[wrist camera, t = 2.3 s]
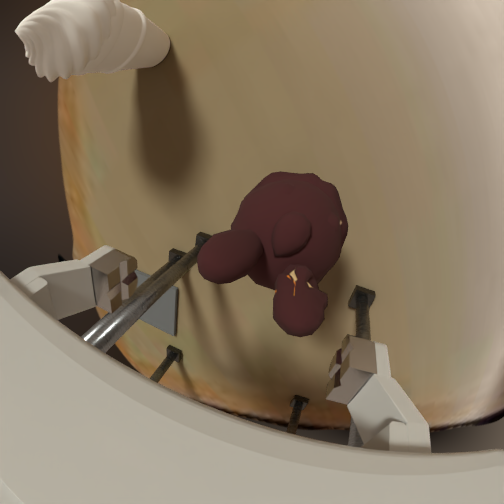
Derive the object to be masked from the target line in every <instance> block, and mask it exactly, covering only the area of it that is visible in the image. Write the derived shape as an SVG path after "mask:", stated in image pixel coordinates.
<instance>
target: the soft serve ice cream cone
mask: <svg viewBox="0 0 504 504" xmlns="http://www.w3.org/2000/svg"><path fill="white" fill-rule="evenodd" d="M15 32H16V33H17V35H18V36H19V38H20V39H21V40H22V41H23V43H24V45H25V50H26V57H29V64H30V65H33V66H34V65H35V69H36V73H37V75H38V77H43V76H46V77H47V79H48V80H49V81H50V82H52V81H54V80H55V79H56V78H57V77H58V76H61V77H62V78H64V79H68V78H69V77H70V76H71V75H84V74H86V73H96V72H102V73H106V74H109V73H114V72H117V71H120V70H128V69H137V68H148V67H153V66H155V65H157V64H159V63H160V62H161V61H162V60H163V59H164V58H165V57H166V55H167V53H168V51H169V48H170V39H169V36H168V35H167V34H166V33H165V32H164V31H163V30H161V29H160V28H159V27H158V26H157V25H155V24H154V23H153V22H152V21H150V20H149V19H148V18H146V17H145V15H144V14H143V12H142V11H140V10H139V9H136V8H131V7H129V6H128V5H126V4H124V3H121V2H120V1H119V0H51V1H50V2H49V3H47V4H46V5H44V6H43V7H41V8H39V9H38V10H36V11H34V12H33V13H32V14H31V15H29V16H28V17H26V18H25V19H24V20H23V21H22V22H21V23H20V24H19V26H18V27H17V29H16V30H15Z"/></svg>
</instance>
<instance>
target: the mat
mask: <svg viewBox="0 0 504 504" xmlns="http://www.w3.org/2000/svg"><path fill="white" fill-rule="evenodd" d="M135 273H136V275H137V277H138V283H137V287H139V286H140V285H141V284H142V283H143V282H144V281H146V280H147V279H148V278H149V277H150V275H147V274H145V273H143V272H141V271H139V270H135ZM177 296H178V288H177V287H175V286H172V287H171V288H170V289H169V290H168V291H167V292H165V293H164V294H163V295H162V296H161V297H160V298H159V299H158V300H157V301H156V302H155V303H154V304H153V305H152V306H151V307H150V308H149V309H148V310H147V311H146V312H145V313H144V314H143V315H142V316H141V317H140V318H139V319H141V320H142V321H144V322H146V323H148V324H150V325H152V326H154V327H156V328H158V329H160V330H162V331H164V332H166V333H168V334H170V335H172V336H175V334H176V315H177Z"/></svg>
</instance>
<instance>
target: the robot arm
mask: <svg viewBox="0 0 504 504" xmlns="http://www.w3.org/2000/svg"><path fill="white" fill-rule="evenodd" d="M136 269H137V260H136V259H135V257H132V256H130V255H128V254H126V253H124V252H121V251H119V250H117V249H115V248H112V247H110V246H107V245H104V246H103V247H101V248H99V249H98V250H96V251H94V252H93V253H91V254H89V255H88V256H86V257H85V258H83V259H81V260H80V261H79V260H71V261H65V262H58V263H52V264H46V265H40V266H34V267H29V268H27V269H26V270H24V271H23V272H21V273H20V274H18V275H16V276H15V277H13V278H12V279H11V280H9V279H8V278H7V277H6V276H5V275H4V274H3V273H2V272H1V271H0V504H504V450H502V449H492V450H483V451H474V452H460V453H431V446H430V435H429V426H428V423H427V422H426V421H425V419H424V418H423V416H422V415H421V414H420V412H419V411H418V410H417V408H416V407H415V405H414V404H413V403H412V401H411V400H410V399H409V397H408V396H407V395H406V393H405V392H404V391H403V389H402V388H401V386H400V385H399V384H398V382H397V381H396V380H395V379H394V378H391V372H390V364H389V357H388V350H387V346H386V344H383V343H379V342H375V341H370V340H366V339H362V338H359V337H355V336H352V335H349V334H347V335H346V337H345V338H344V340H343V341H342V348H341V349H339V350H337V351H336V353H335V355H334V357H333V359H332V361H331V364H330V368H329V377H330V378H331V380H330V381H329V383H328V384H327V392H326V399H328V400H331V401H335V402H339V403H343V404H346V405H347V407H348V409H349V411H350V414H351V416H352V418H353V420H354V423H355V425H356V427H357V430H358V432H359V434H360V436H361V439H362V441H363V443H364V445H363V446H362V447H360V448H359V447H352V446H346V445H340V444H334V443H330V442H325V441H320V440H315V439H310V438H306V437H302V436H298V435H294V434H290V433H287V432H283V431H279V430H276V429H272V428H269V427H265V426H263V425H259V424H256V423H253V422H250V421H247V420H244V419H241V418H238V417H235V416H232V415H230V414H227V413H225V412H222V411H219V410H217V409H214V408H212V407H209V406H207V405H204V404H202V403H200V402H197V401H195V400H193V399H190V398H188V397H186V396H184V395H182V394H179V393H177V392H175V391H173V390H171V389H169V388H167V387H165V386H163V385H161V384H159V383H157V382H155V381H153V380H151V379H149V378H147V377H145V376H143V375H142V374H140V373H138V372H136V371H134V370H132V369H131V368H129V367H127V366H125V365H124V364H122V363H120V362H119V361H117V360H115V359H114V358H112V357H110V356H109V355H107V354H105V353H104V352H102V351H101V350H99V349H98V348H96V347H95V346H93V345H91V344H90V343H88V342H87V341H85V340H84V339H83V338H81V337H80V336H78V335H77V334H75V333H74V332H72V331H71V330H70V329H68V328H67V327H66V326H64V325H63V324H61V323H60V322H59V321H58V319H61V318H64V317H67V316H70V315H73V314H75V313H78V312H81V311H84V310H87V309H90V308H93V307H96V305H97V306H98V307H100V308H102V309H104V310H106V311H108V312H110V313H113V312H114V311H116V310H117V309H118V308H119V307H120V306H121V305H122V300H124V299H129V298H130V297H131V296H132V295H133V294H134V292H135V290H136V288H137V283H138V277H137V275H136V273H135V270H136Z"/></svg>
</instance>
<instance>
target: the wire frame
mask: <svg viewBox="0 0 504 504" xmlns="http://www.w3.org/2000/svg"><path fill="white" fill-rule="evenodd" d="M211 237H212V236H211V235H208V234H205V233H202V232H200V233H198V234H197V236H196V244H195V247H194V248H193V249H192V250H190V251H189V252H188V253H184V252H182V251H179V250H176V249H174V248H173V249H172V250H170V251H169V262H167V263H166V264H165V265H164V266H163V267H161V268H160V269H159V270H158V271H156V272H155V273H154V274H153V275H152V276H150V277H149V278H148V279H147V280H146V281H144V282H143V283H142V284H141V285H140V286H139V287H137V288H136V290H135V292H134V294H133V295H132V296H131V297H130V298H129V299H124V300H122V305H121V306H120V307H119V308H118V309H117V310H116V311H114V312H113V313H110V312H108V313H107V314H106V315H105V316H104V317H103V318H102V319H101V320H100V321H98V322H97V323H96V324H95V325H94V326H93V327H92V328H90V329H89V330H88V331H87V332H86V333H85V334H84V335H83V336H82V337H81V338H83V339H84V340H85V341H87V342H88V343H90V344H91V345H93V346H95V347H96V348H98V349H99V350H101V351H102V352H104V353H105V352H107V351H108V350H109V348H110V347H111V346H112V345H113V344H114V343H115V342H116V341H117V340H118V339H119V338H120V337H121V336H122V335H123V334H124V333H125V332H126V331H127V330H128V329H129V328H130V327H131V326H132V325H133V324H134V323H135V322H136V321H137V320H138V319H139V318H140V317H141V316H142V315H143V314H144V313H145V312H146V311H147V310H148V309H149V308H150V307H151V306H152V305H153V304H154V303H155V302H156V301H157V300H158V299H159V298H160V297H161V296H162V295H163V294H164V293H165V292H167V291H168V290H169V289H170V288H171V287H172V286H173V285H174V284H175V283H176V282H177V281H178V280H179V279H180V278H181V277H182V276H183V275H184V274H185V273H186V272H187V271H188V270H189V269H190V268H191V267H192V266H194V265H195V264H196V263H197V256H198V253H199V251H200V249H201V247H202V246H203V245H204V244H205V243H206V242H207V241H208V240H209V239H210V238H211ZM374 298H375V291H372V290H369V289H366V288H363V287H360V286H357V285H356V287H355V289H354V291H353V293H352V295H351V297H350V299H349V301H348V306H349V307H352V308H355V309H356V337H359V338H362V339H366V340H370V341H371V337H370V320H369V307H370V305H371V304H372V302H373V300H374ZM180 360H181V350H179V349H177V348H175V347H173V346H171V345H169V346H168V347H167V357H166V358H165V359H164V361H163V362H162V363H161V364H160V366H159V367H158V368H157V370H156V371H155V372H154V374H153V375H152V376H151V377H150V379H151V380H153V381H155V382H157V383H158V382H159V381H160V379H161V378H162V376H163V375H164V374H165V372H166V371H167V370H168V368H169V367H170V366H171V364H172V363H173V361H176V362H179V361H180ZM308 400H309V399H307V398H304V397H300V396H297V395H295V396H294V398H293V399H292V401H291V403H290V406H291V407H293V411H292V414H291V418H290V421H289V425H288V428H287V433H290V434H294V435H295V434H296V430H297V426H298V422H299V419H300V415H301V411H302V410H303V409H304V408H305V406H306V405H307V404H308ZM363 445H364V443H363V441H362V439H361V436H360V434H359V432H358V430H357V427H356V425H355V423H354V420H353V418H352V416H351V425H350V433H349V442H348V446H352V447H359V448H360V447H362V446H363Z"/></svg>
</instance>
